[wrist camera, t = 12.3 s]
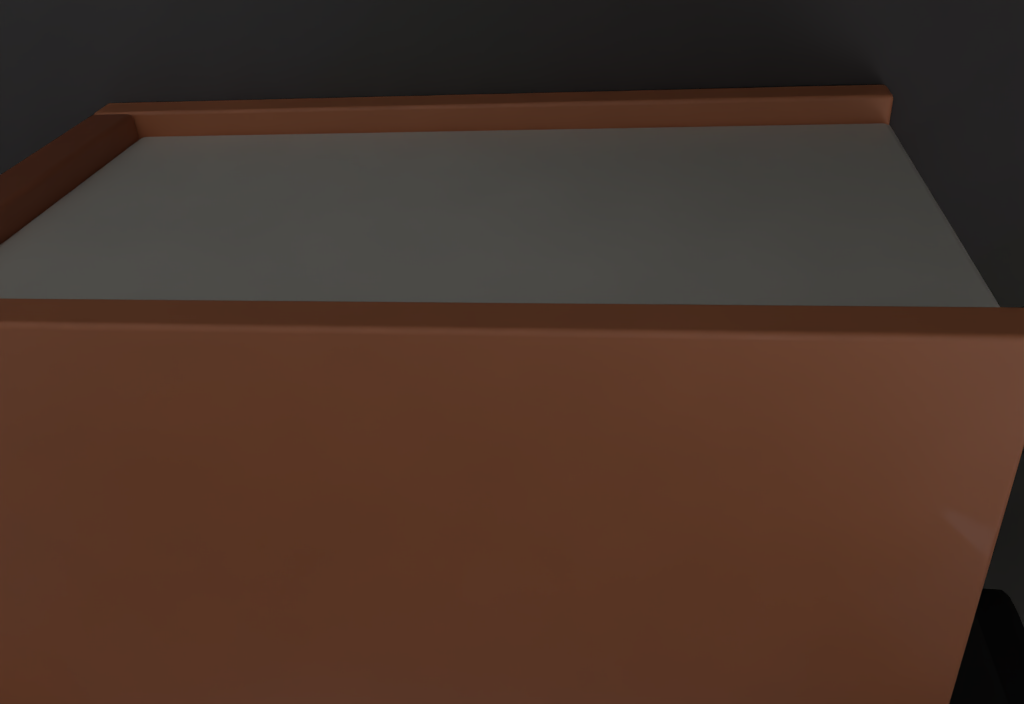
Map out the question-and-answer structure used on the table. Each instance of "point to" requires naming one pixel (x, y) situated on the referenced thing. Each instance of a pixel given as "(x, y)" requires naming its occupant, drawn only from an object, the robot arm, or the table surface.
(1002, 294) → the table surface
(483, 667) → the terracotta book
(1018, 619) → the robot arm
